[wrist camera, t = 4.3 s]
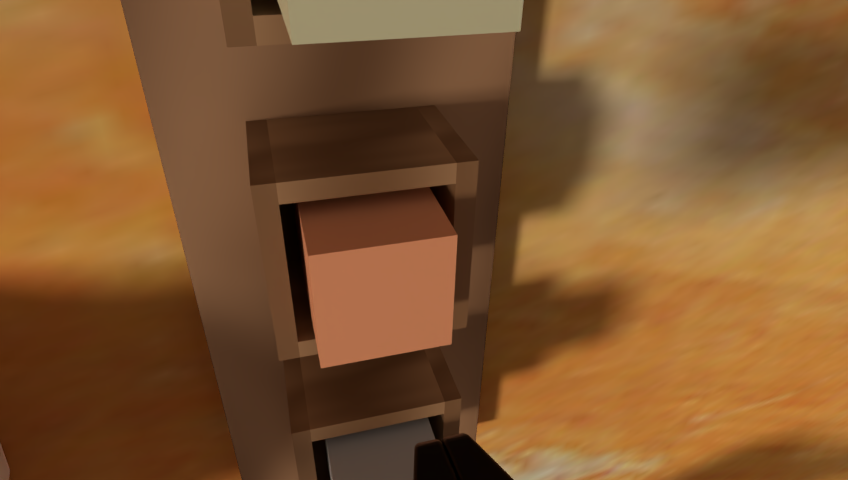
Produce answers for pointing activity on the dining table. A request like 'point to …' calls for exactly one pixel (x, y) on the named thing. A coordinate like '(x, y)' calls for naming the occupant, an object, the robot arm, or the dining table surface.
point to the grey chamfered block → (377, 452)
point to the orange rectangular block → (377, 273)
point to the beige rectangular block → (396, 19)
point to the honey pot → (3, 466)
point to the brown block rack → (316, 180)
